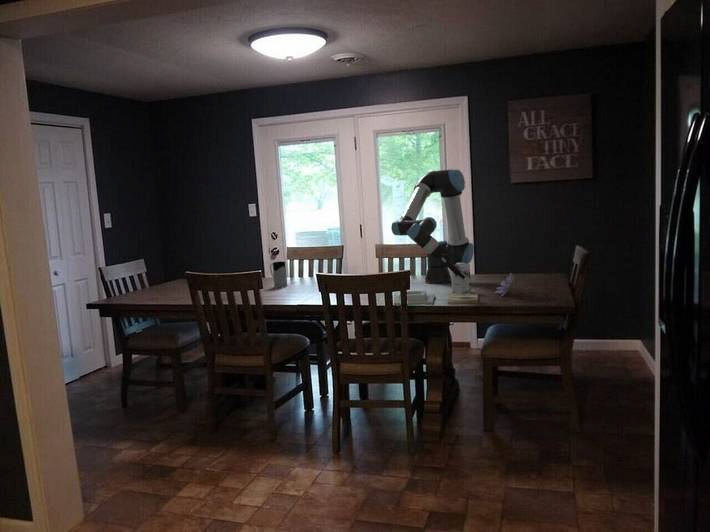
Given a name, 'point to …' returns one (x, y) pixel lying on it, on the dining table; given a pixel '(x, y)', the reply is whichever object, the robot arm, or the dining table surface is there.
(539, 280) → the dining table surface
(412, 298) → the collar holder
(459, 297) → the ash board
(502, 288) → the water lily
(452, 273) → the pill bottle
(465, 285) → the syrup box
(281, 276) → the glass holder
